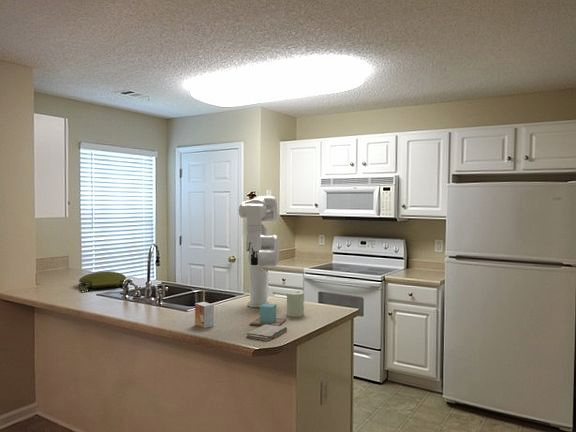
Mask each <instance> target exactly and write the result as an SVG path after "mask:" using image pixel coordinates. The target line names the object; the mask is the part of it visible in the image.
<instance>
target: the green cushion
mask: <svg viewBox="0 0 576 432" xmlns="http://www.w3.org/2000/svg"><path fill="white" fill-rule="evenodd" d="M126 279H127V277H126V275H125V274H123V273H121V272H116V271H98V272H97V271H96V272H91V273H88V274H85V275H84V276H82V277H80V278H79V280H78V282H79V283H78V287H79V286H80V288H79V290H80V289H81V290H80V292H81V291H87V290H89V291H90V289H89V288H91V289H97V288H109V287H118V286H120V285H121V286H120V287H121V288H122V287H123V282H124V280H125V281H126Z"/></svg>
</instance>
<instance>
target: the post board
mask: <svg viewBox="0 0 576 432" xmlns="http://www.w3.org/2000/svg"><path fill="white" fill-rule="evenodd" d="M286 321H287V318H281V317H279V318H278V317H276V321H274V322H273V323H263V322H260V316H258V317H257V318H256V319H254V320H253V321H251V322H250V323H249V326H250V327H251V326H252V327H261V326H263V325H273V326H282V325H283V324H285V322H286Z"/></svg>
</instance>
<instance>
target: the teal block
mask: <svg viewBox="0 0 576 432" xmlns="http://www.w3.org/2000/svg"><path fill="white" fill-rule="evenodd" d="M259 317H260V322H263V323H273V322H274V321H276V318H277V304H276V303H270V304H266V303H264V304H263V305H261V306H260V307H259Z"/></svg>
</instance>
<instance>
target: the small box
mask: <svg viewBox="0 0 576 432" xmlns="http://www.w3.org/2000/svg"><path fill="white" fill-rule="evenodd" d="M214 305H215V304H213V303H209V302H207V301H201V302H196V303H194V325H195V326H197V327H201V328H203V329H206V328H211V327H214V325H215V324H214V323H215V321H214V319H215V314H214V313H215V312H214V311H215V306H214Z"/></svg>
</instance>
